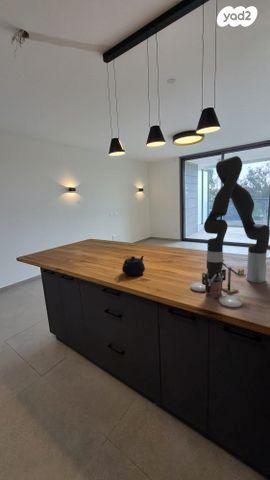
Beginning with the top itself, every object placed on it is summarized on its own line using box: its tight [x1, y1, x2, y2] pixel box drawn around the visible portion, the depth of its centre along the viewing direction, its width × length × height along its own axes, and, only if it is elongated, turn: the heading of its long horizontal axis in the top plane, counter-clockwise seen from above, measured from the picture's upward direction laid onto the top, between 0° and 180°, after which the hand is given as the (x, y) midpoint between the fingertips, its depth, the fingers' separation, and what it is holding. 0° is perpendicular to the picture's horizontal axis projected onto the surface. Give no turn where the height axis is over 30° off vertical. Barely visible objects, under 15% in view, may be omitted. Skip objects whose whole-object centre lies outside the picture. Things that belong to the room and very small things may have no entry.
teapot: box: [121, 255, 146, 277], centre depth 146 cm, size 25×16×12 cm, turn 145°
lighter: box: [205, 277, 223, 298], centre depth 107 cm, size 8×3×10 cm, turn 92°
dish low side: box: [218, 294, 243, 308], centre depth 99 cm, size 10×10×2 cm
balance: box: [222, 258, 247, 295], centre depth 112 cm, size 5×18×16 cm, turn 27°
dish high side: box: [190, 282, 206, 292], centre depth 117 cm, size 10×10×2 cm
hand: (213, 290), depth 108 cm, fingers closed on lighter, 7 cm apart
